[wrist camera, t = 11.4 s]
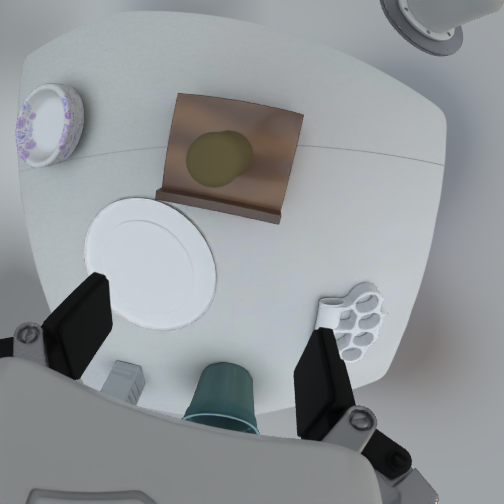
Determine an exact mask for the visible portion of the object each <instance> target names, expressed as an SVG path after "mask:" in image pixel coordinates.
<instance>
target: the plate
mask: <svg viewBox="0 0 504 504" xmlns="http://www.w3.org/2000/svg"><path fill="white" fill-rule="evenodd" d="M84 257H85V264H86V268H87V272H88V275H89V276H90V275H91V274H92V273H93V272H97V273H100V274H103V275H105V276H106V278H107V279H108V280H109V287H110V301H111V309H112V310H113V311H114V312H116V313H117V314H118V315H120V316H121V317H122V318H124V319H126V320H127V321H129V322H131V323H133V324H135V325H138V326H141V327H144V328H147V329H152V330H160V331H169V330H176V329H180V328H183V327H186V326H188V325H190V324H192V323H194V322H195V321H197V320H198V319H199V318H200V317H201V316H202V315H203V314H204V313H205V312H206V311H207V309H208V308H209V306H210V304H211V302H212V300H213V297H214V293H215V289H216V270H215V265H214V260H213V257H212V254H211V251H210V249H209V247H208V245H207V243H206V241H205V239H204V238H203V236H202V235H201V233H200V232H199V231H198V229H197V228H196V227H195V226H194V225H193V224H192V223H191V222H190V221H189V220H188V219H187V218H186V217H185V216H184V215H182V214H181V213H180V212H178V211H177V210H175V209H173V208H172V207H170V206H168V205H166V204H163V203H161V202H158V201H155V200H150V199H144V198H128V199H123V200H119V201H116V202H114V203H112V204H110V205H108V206H106V207H105V208H104V209H102V210H101V211H100V212H99V213H98V214H97V215H96V217H95V218H94V219H93V221H92V223H91V224H90V226H89V229H88V231H87V235H86V239H85V245H84Z"/></svg>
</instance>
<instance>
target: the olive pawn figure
mask: <svg viewBox="0 0 504 504" xmlns="http://www.w3.org/2000/svg"><path fill="white" fill-rule="evenodd" d="M252 157H253V151H252V146H251V144H250V142H249V140H248V139H247V138H246V137H245V136H244V135H243V134H240V133H238V132H236V131H229V130H227V131H222V132H209V133H205V134H203V135H201V136H199V137H198V138H196V139H195V140H194V141H193V143H192V144H191V145H190V147H189V149H188V152H187V155H186V165H187V170H188V172H189V173H190V175H191V177H192V178H193V179H194V180H195V181H196V182H197V183H199V184H201V185H204V186H206V187H213V188H216V187H222V186H225V185H227V184H229V183H231V182H232V181H233V180H234V179H235V178H236V177H237V176H238V175H240V174H242V173H244V172H245V171H246V170H247V169H248V168H249V166H250V164H251V162H252Z"/></svg>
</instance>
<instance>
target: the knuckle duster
mask: <svg viewBox="0 0 504 504" xmlns="http://www.w3.org/2000/svg"><path fill="white" fill-rule="evenodd" d="M370 294H373V295H372V297H371V298H370V299H369V300H368V301H366V302H363V303H356V302H357V301H358V300H359V299H360V298H361V297H363V296H366V295H370ZM382 302H383V297H382V295H381V294H380V292H379V290H378V289H377V287H376V286H375V285H373V284H371V283H361V284H359V285H357V286H355V287H354V288H353V289H352V290H351V291H350V293H349V295H347V296H345V297H344V298H331V297H330V298H323V299H321V300H320V301H319V310H318V315H317V320H316V323H315V329H317V330H318V328H319V327H324V328H330V329H333V332H334V336H335V337H336V333H346V335H345V336H344V337H342V338H340V339H339V340H337V341H336V343H337V347H338V350H339V354H340V358H341V359H343V360H344V362H347V363H352V362H356V361H358V360H360V359H362V358H363V357H364V356H365V352H366V350H367V348H368V347H369V346H370V345H372V344H373V343H374V342H375V340H376V339H377V337H378V336H379V335H378V330H379V328H380V326H381V325H382V324H383V317H384V316H385V315H386V314H387V313H386V312H382V311H381V310H380V309H381V304H382ZM348 309H352V313H351V316H350V318H349V319H347V320H340V317H341V313H342V311H347V310H348ZM371 313H374V314H373V315H372V316H371V317H369V318H367V319H364V320H360V319H361V318H362V317H363V316H365V315H367V314H371ZM360 332H367V333H366V334H365V335H363V336H359V337H357V336H356V335H357V334H358V333H360ZM351 347H355V348H354V349H352V350H349V351H345V350H346V349H348V348H351Z"/></svg>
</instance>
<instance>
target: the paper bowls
mask: <svg viewBox="0 0 504 504" xmlns="http://www.w3.org/2000/svg"><path fill="white" fill-rule="evenodd" d="M83 126H84V107H83V103H82V99H81V97H80V95H79V93H78V92H77V91H76V90H75V89H74V88H73V87H71V86H68V85H64V84H55V83H47V84H43V85H41V86H39V87H37V88H36V89H35V90H33V91H32V92H31V93H30V94H29V96H28V97H27V98H26V100H25V101H24V103H23V105H22V107H21V109H20V112H19V115H18V119H17V124H16V143H17V148H18V151H19V153H20V156H21V157H22V159H23V160H24V161H25V162H26V163H27V164H28V165H29V166H31V167H34V168H43V167H47V166H51V165H54V164H57V163H60V162H62V161H64V160H66V159H67V158H68V157H69V156H70V155H71V154H72V153H73V151H74V149H75V148H76V146H77V144H78V142H79V140H80V137H81V134H82V130H83Z"/></svg>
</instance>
